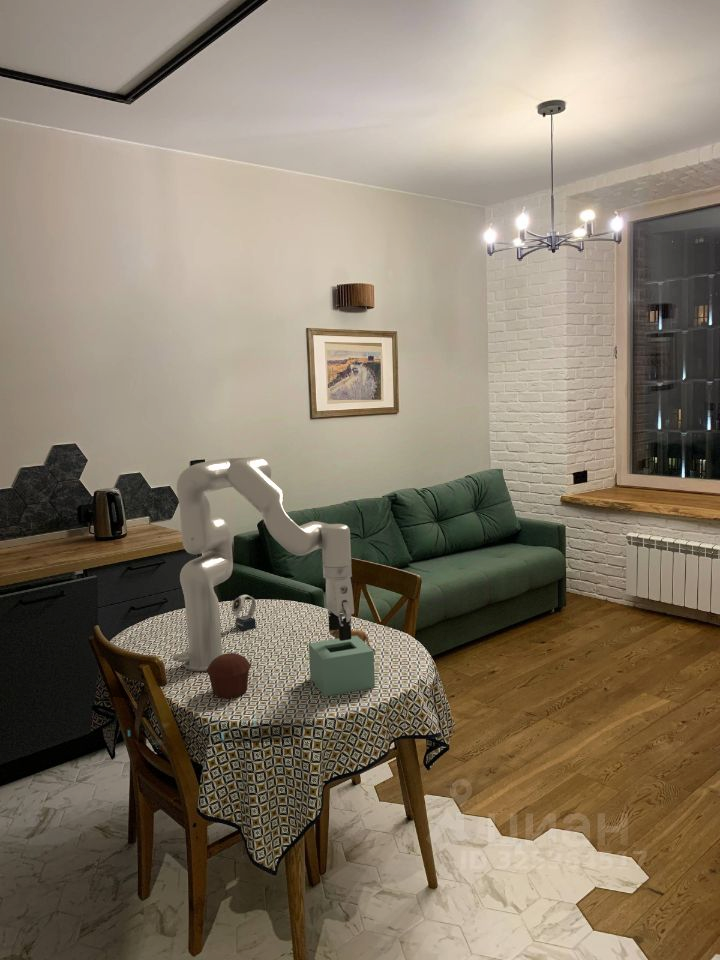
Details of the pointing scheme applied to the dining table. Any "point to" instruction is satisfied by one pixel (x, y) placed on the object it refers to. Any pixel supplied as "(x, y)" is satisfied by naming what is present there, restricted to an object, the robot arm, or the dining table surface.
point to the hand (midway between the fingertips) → (340, 634)
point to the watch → (244, 621)
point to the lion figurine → (358, 633)
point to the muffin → (229, 675)
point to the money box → (341, 665)
